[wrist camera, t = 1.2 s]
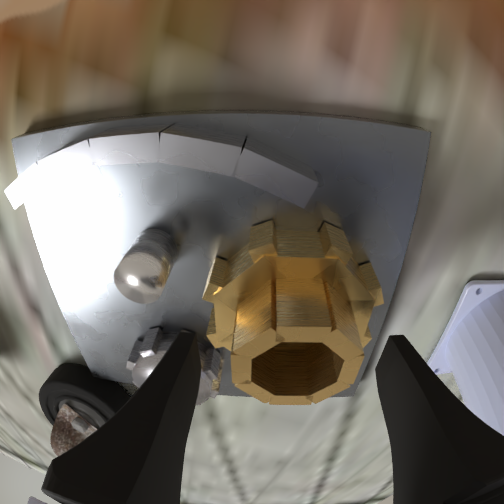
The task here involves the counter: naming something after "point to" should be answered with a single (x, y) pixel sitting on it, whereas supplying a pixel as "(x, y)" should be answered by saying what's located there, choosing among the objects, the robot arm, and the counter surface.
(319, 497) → the counter surface
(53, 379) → the caster wheel
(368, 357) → the carrier
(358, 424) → the counter surface
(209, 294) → the planet gear
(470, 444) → the robot arm
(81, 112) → the counter surface
